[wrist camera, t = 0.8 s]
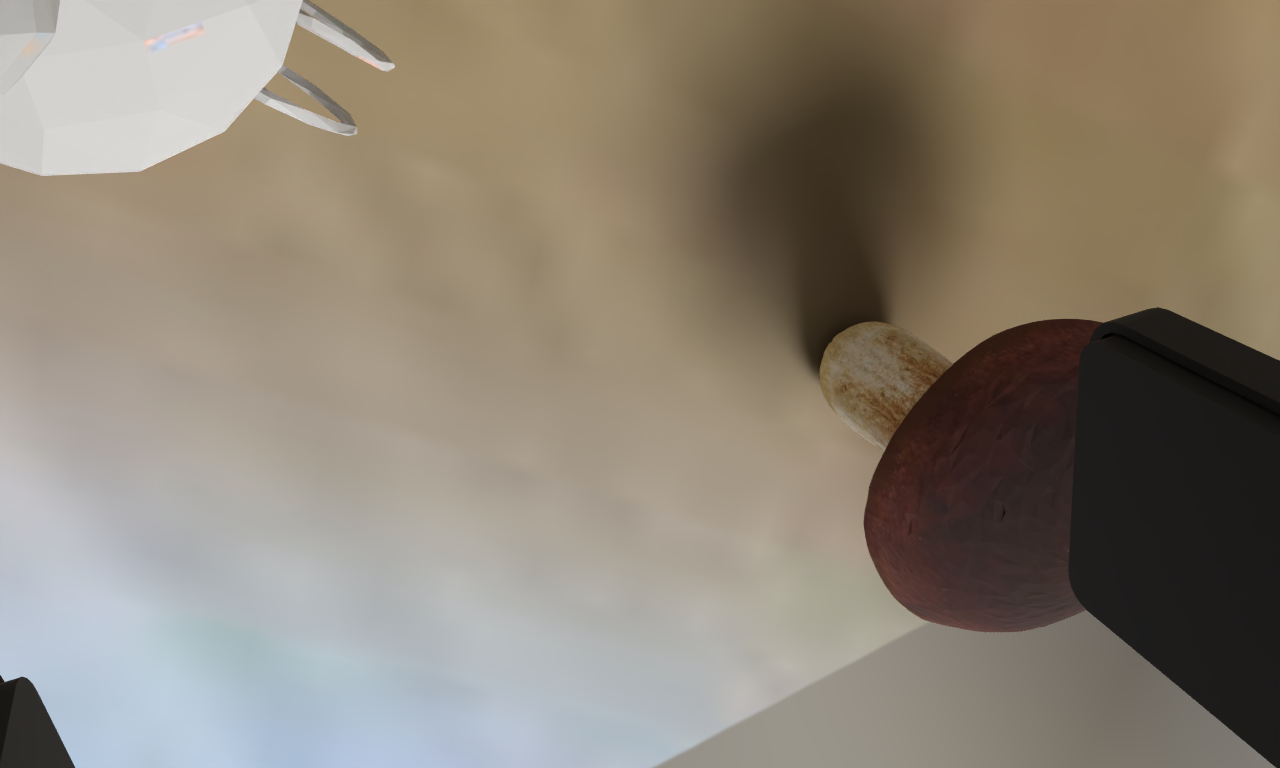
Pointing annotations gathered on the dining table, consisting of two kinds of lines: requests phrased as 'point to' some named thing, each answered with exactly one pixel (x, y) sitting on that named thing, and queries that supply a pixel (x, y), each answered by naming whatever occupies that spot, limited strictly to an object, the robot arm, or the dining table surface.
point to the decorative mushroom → (967, 468)
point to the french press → (148, 76)
